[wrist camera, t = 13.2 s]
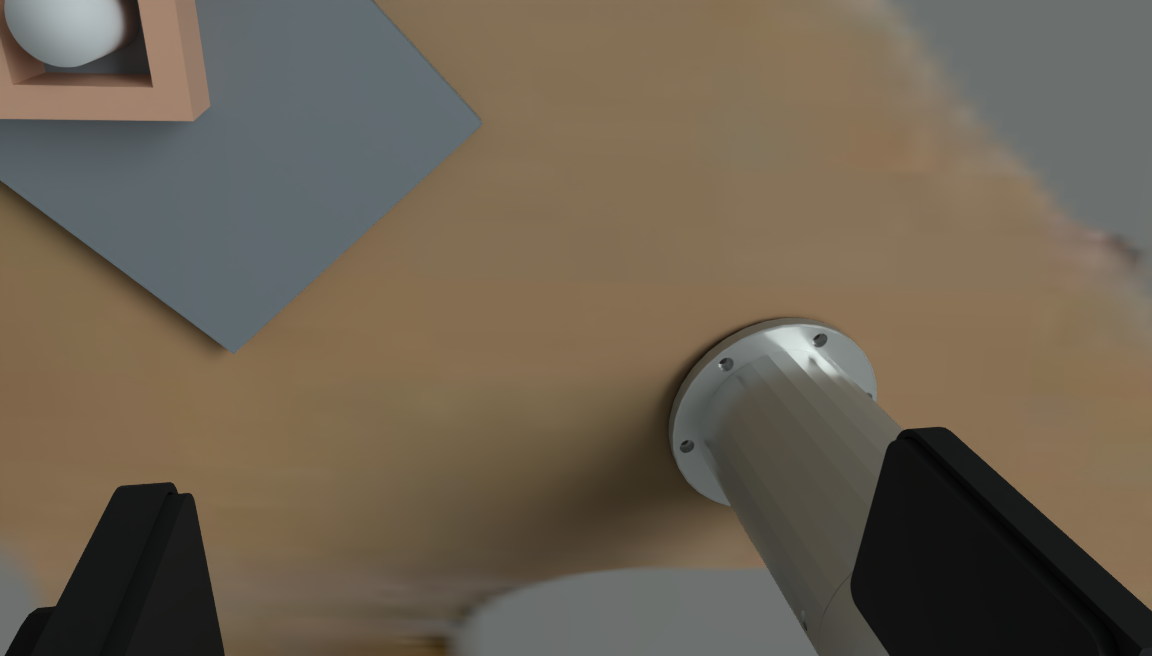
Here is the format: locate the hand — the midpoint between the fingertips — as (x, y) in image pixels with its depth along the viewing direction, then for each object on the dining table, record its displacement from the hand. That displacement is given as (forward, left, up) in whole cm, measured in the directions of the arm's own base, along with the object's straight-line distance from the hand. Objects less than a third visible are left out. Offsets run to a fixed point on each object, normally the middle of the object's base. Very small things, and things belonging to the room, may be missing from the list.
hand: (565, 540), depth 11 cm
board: (+8, +7, -28) cm, 30 cm away
